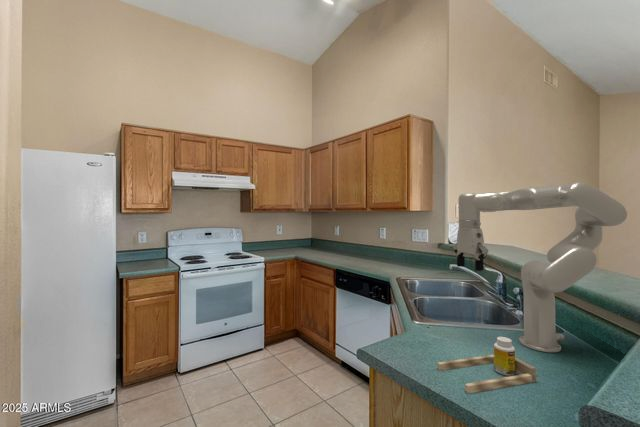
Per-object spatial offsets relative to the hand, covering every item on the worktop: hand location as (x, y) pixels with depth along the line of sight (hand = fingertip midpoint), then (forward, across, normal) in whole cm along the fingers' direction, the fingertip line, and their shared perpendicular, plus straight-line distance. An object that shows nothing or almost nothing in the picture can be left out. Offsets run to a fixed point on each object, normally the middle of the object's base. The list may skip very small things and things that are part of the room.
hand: (469, 268), depth 114 cm
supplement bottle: (+28, -22, +7) cm, 37 cm away
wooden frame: (+28, -22, +14) cm, 38 cm away
